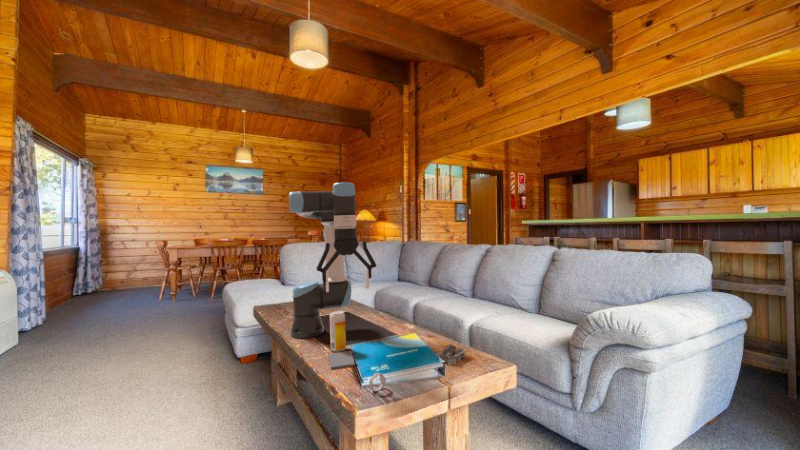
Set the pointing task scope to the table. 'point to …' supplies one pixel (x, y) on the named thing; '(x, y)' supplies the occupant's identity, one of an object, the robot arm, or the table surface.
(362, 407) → the table surface
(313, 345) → the table surface
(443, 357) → the egg carton
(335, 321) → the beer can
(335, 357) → the mat
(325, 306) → the robot arm
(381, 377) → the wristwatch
